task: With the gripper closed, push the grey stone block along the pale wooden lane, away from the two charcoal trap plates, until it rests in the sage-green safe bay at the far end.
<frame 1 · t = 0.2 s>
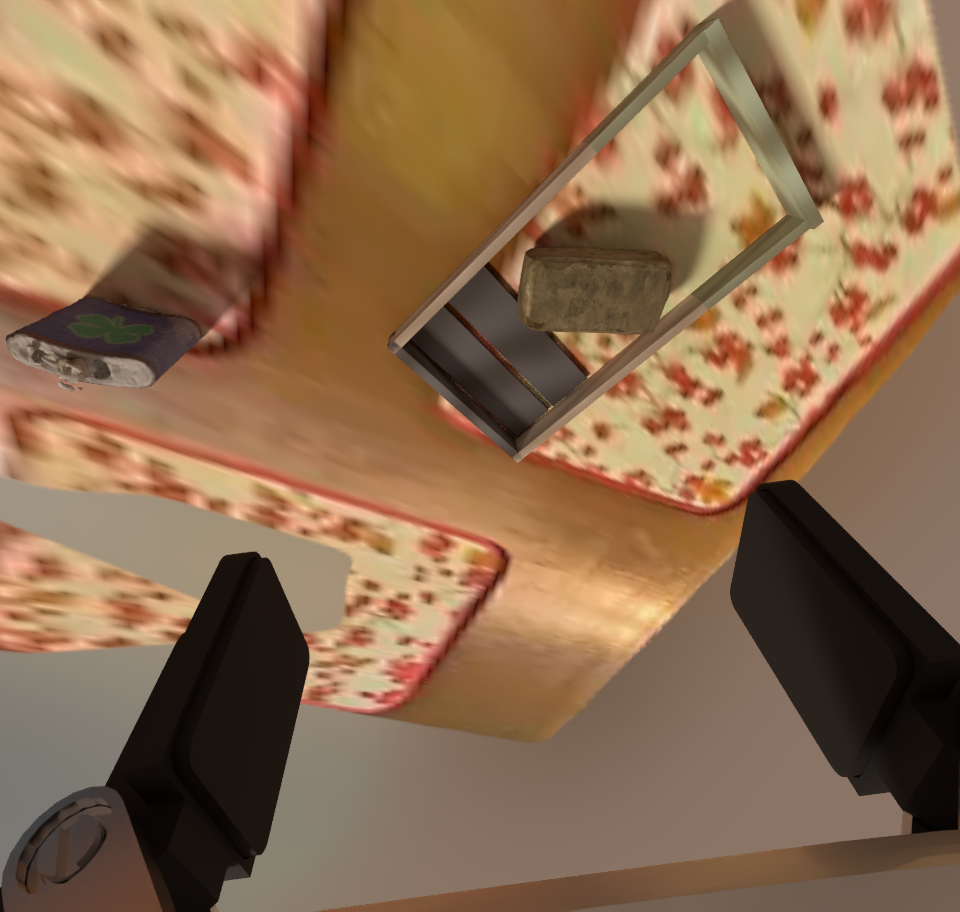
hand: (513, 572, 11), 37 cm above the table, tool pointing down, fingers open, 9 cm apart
stone block: (583, 282, 44), on the table, touching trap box
flask: (142, 320, 44), on the table
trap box: (588, 277, 44), on the table
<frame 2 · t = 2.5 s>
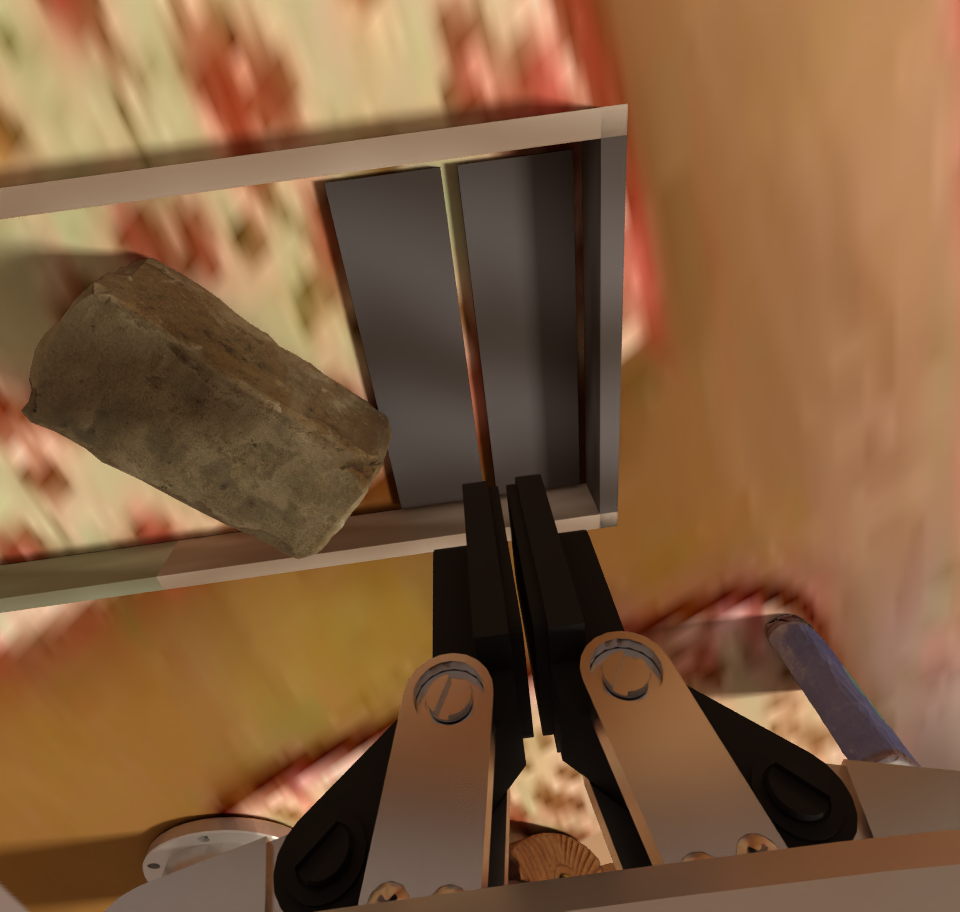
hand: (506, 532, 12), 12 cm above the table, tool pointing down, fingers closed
stone block: (251, 385, 22), on the table, touching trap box
flask: (801, 650, 35), on the table
wooden carving: (554, 835, 45), on the table
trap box: (239, 387, 22), on the table
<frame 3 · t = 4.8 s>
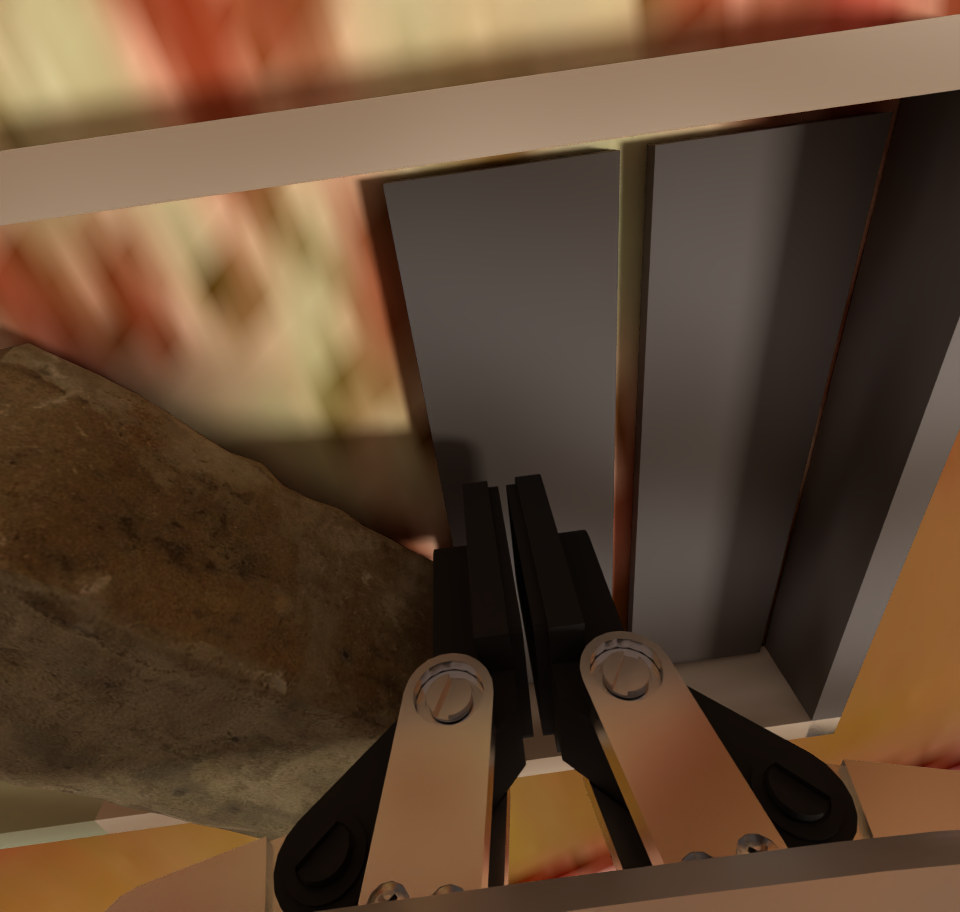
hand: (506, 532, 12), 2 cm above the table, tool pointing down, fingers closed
stone block: (237, 532, 13), on the table, touching gripper
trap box: (222, 533, 13), on the table
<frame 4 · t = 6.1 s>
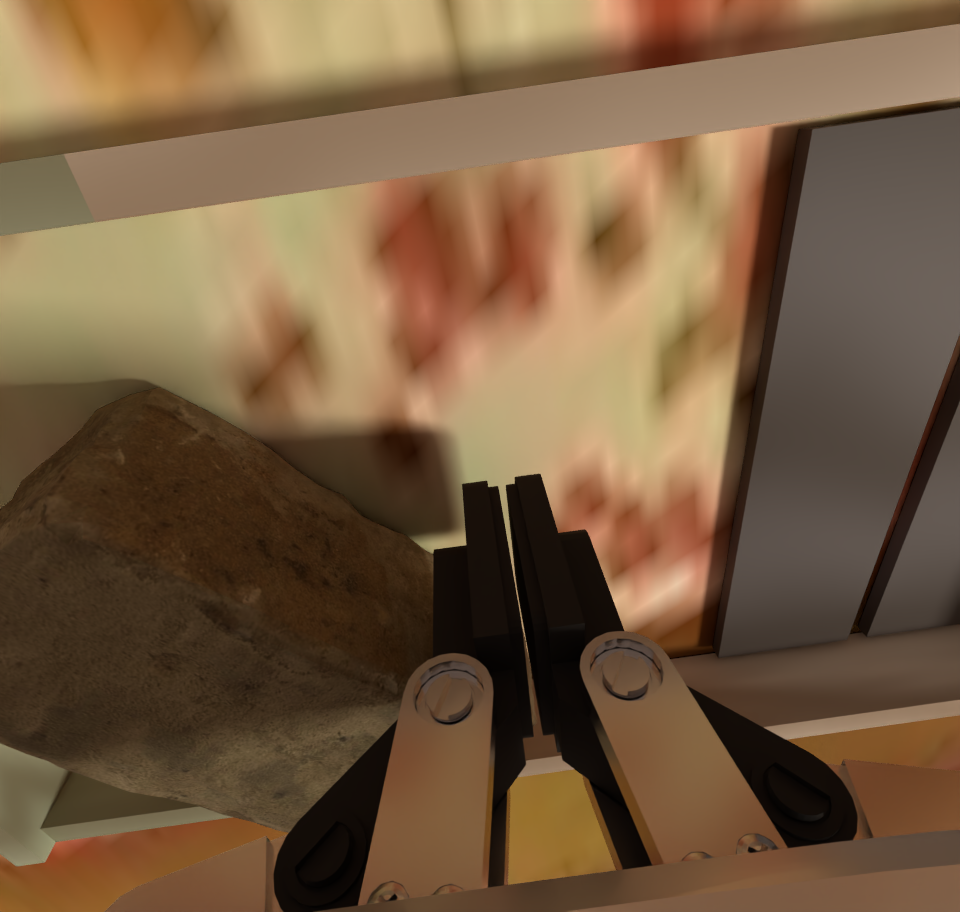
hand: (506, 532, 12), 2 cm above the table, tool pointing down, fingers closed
stone block: (304, 559, 14), on the table, touching gripper
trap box: (521, 493, 13), on the table
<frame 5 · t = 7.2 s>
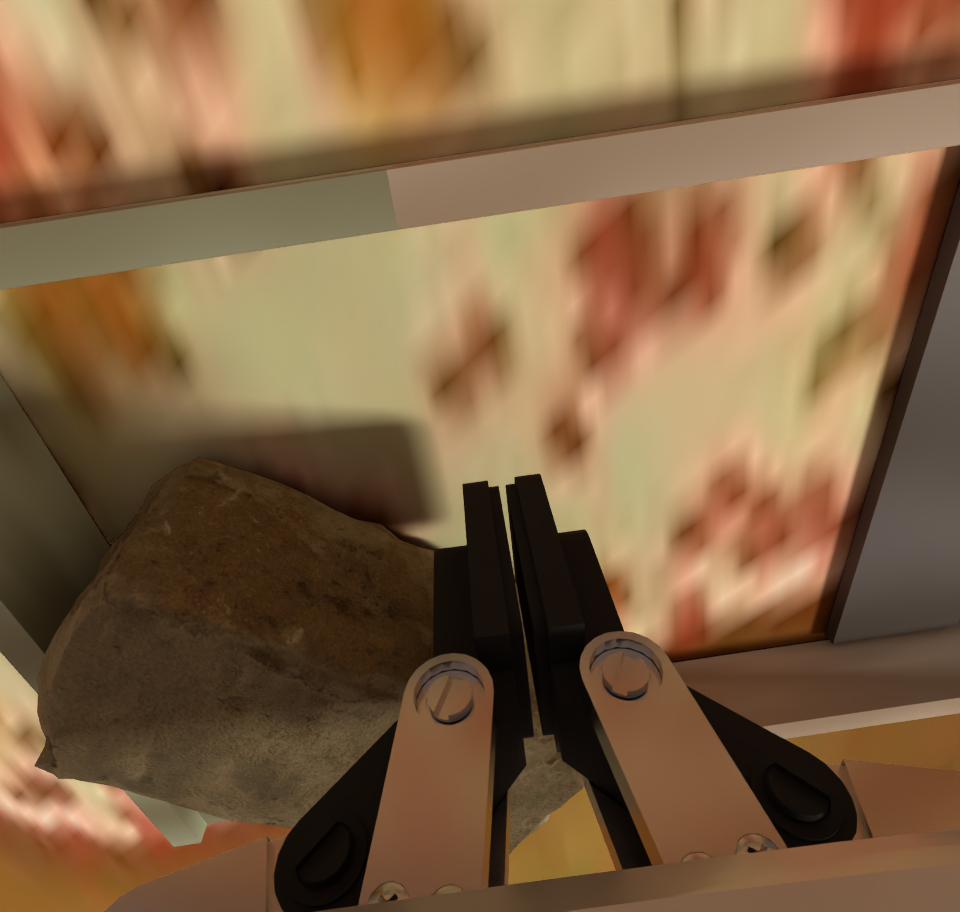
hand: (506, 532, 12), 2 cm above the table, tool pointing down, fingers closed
stone block: (362, 588, 15), on the table, touching gripper, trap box
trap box: (670, 483, 14), on the table
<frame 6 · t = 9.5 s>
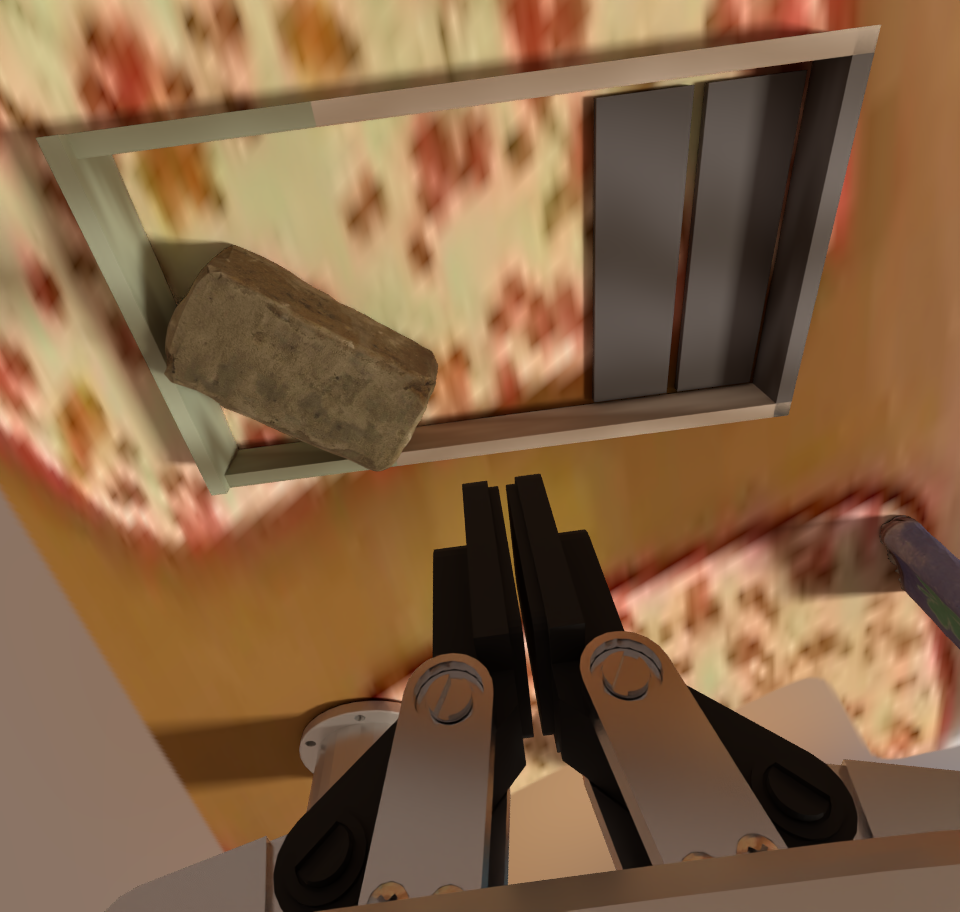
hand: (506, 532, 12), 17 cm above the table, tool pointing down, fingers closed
stone block: (319, 341, 27), on the table
flask: (906, 552, 39), on the table
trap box: (480, 285, 26), on the table
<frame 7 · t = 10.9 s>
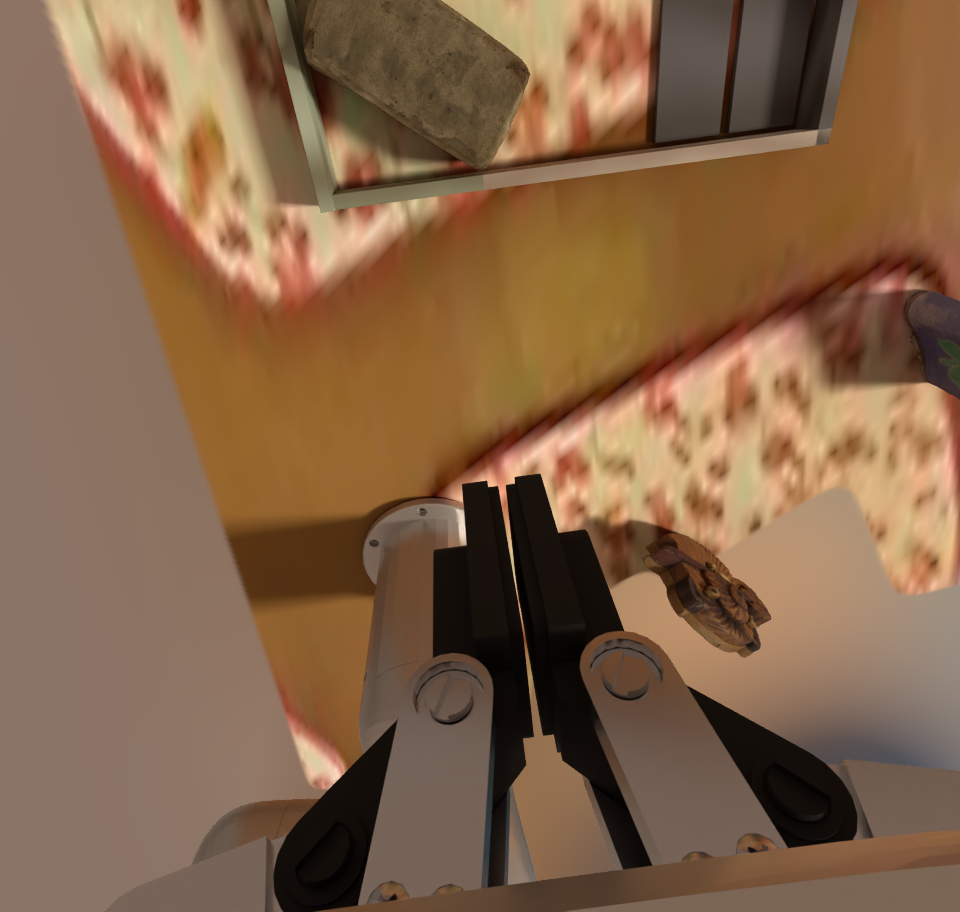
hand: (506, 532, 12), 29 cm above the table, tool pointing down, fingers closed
stone block: (419, 69, 31), on the table
flask: (927, 336, 42), on the table
wooden carving: (690, 552, 53), on the table
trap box: (562, 11, 30), on the table
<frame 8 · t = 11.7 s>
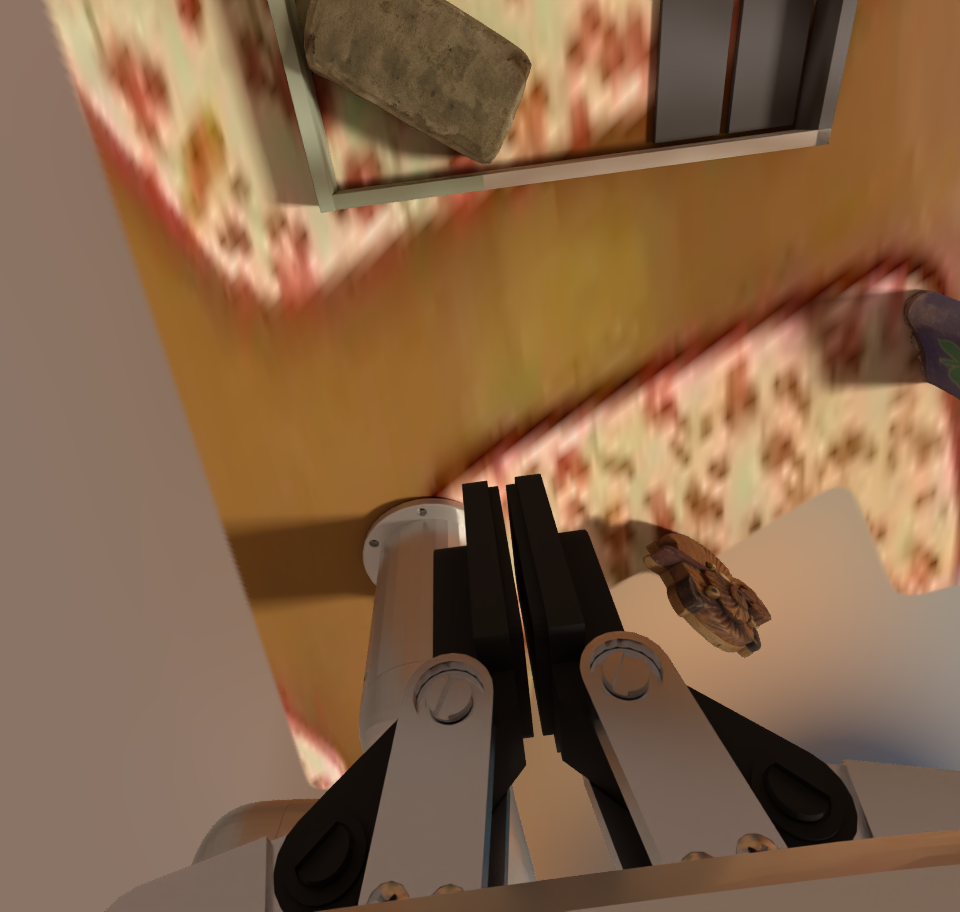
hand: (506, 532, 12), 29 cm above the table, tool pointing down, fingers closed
stone block: (419, 67, 31), on the table
flask: (927, 336, 42), on the table
wooden carving: (690, 552, 53), on the table
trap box: (562, 11, 30), on the table
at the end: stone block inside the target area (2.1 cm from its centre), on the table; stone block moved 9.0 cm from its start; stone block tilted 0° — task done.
